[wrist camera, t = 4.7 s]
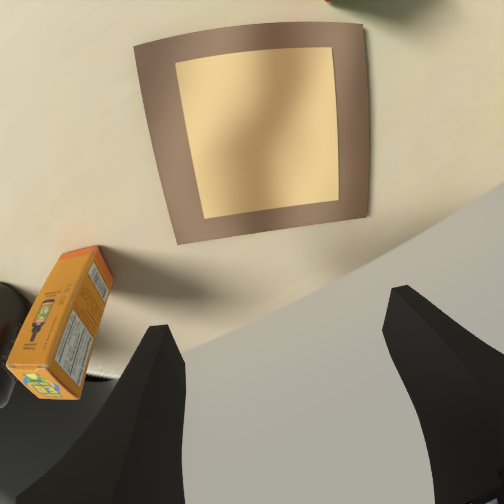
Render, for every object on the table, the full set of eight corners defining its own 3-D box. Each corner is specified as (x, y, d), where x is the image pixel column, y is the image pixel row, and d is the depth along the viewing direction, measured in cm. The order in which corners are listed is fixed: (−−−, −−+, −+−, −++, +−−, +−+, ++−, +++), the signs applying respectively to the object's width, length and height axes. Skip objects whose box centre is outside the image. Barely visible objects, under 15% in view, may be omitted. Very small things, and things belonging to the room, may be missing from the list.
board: (358, 25, 13) (363, 23, 12) (363, 213, 19) (367, 218, 19) (136, 47, 13) (133, 46, 12) (178, 239, 19) (177, 245, 19)
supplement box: (81, 289, 21) (36, 401, 12) (61, 251, 19) (-2, 362, 11) (118, 283, 21) (79, 404, 12) (100, 242, 19) (41, 363, 11)
